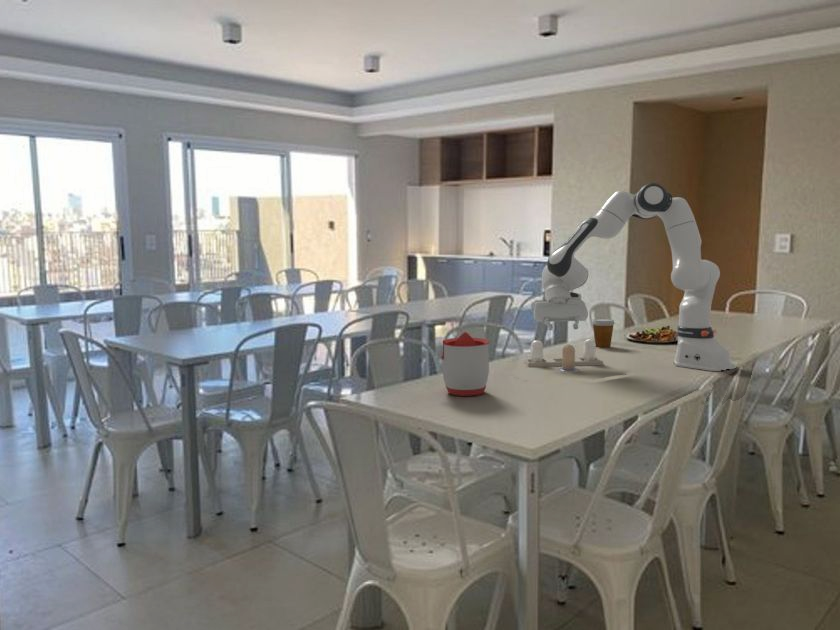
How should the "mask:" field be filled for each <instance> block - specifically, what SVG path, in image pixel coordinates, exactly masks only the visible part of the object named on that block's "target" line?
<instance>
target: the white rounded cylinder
mask: <svg viewBox="0 0 840 630" xmlns="http://www.w3.org/2000/svg"><path fill="white" fill-rule="evenodd" d="M596 348H597V347H596V344H595V339H593V338H587V339H586V340H584V342H583V354H582V355H583V357H582V358H583V361H595V357H596Z"/></svg>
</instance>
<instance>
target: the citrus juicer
mask: <svg viewBox="0 0 840 630" xmlns="http://www.w3.org/2000/svg"><path fill="white" fill-rule="evenodd" d="M489 345H490V340H489V339H486V338H481V337H472V336H471V334H469V333H468V332H466V331H464V332H463V333H462V334H460V335H459V337H455V338H454V337H453V338H452V337H451V338H446V339H443V340H442V350H440V351H438V352H437V354H436V356H435V359H440V358H441V360H442V361H441V362H442V363H441V367H442V369H441V370H442V375H443V376H442V377H443V381H444V384H445V389H446V391H447V392H448V394H450V395H453V396H454V395H459V396H458V397H460V396H461V397H467V396H470V397H471V396H473V395H478V396H480V395H481V394H483V393H484V392H485V391H486V390H485V389H486V387H487V383H488V378H489V374H490V373H489V371H490V370H489V369H490V368H489V367H490V351H489V349H490V347H489Z"/></svg>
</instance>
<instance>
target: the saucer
mask: <svg viewBox="0 0 840 630" xmlns="http://www.w3.org/2000/svg"><path fill="white" fill-rule="evenodd" d="M556 370H557V371H558V372H563V373H564V372H565V373H576V372H579V371H580V368H577V367H575V370H573V371H565V370H562V367H557V369H556Z"/></svg>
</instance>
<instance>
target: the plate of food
mask: <svg viewBox="0 0 840 630" xmlns="http://www.w3.org/2000/svg"><path fill="white" fill-rule="evenodd" d="M643 329H644V330H645V331H644V330H641V331H633V332H629V333H626V334H625V335H624V337H625V338H627V339H629V340H632V341H638V342H644V343H648V344H667V343H672V342H673V343H674V342H678V335H677V331H675V330H673V328H671V329H670V325H665V326H661V327H660V328H658V327H657V328H655V329H654V328H651V329H650V328H646V327H643Z"/></svg>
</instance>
